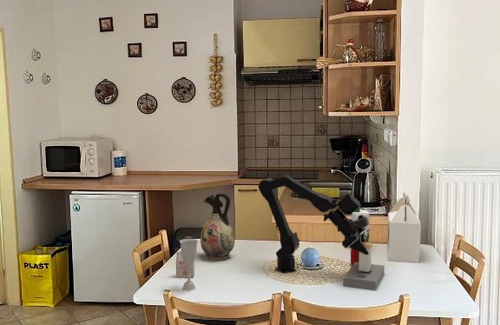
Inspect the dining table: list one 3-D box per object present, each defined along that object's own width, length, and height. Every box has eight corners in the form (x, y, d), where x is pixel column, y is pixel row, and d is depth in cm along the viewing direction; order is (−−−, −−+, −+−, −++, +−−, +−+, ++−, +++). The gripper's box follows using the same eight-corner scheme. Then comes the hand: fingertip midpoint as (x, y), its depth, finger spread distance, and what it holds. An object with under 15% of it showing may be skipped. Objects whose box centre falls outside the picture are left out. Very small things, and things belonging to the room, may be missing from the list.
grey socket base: (343, 286, 206) (343, 277, 205) (354, 270, 226) (355, 261, 226) (375, 290, 201) (375, 281, 201) (384, 273, 222) (384, 265, 221)
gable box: (419, 263, 237) (422, 199, 234) (388, 261, 240) (390, 198, 237) (415, 250, 259) (417, 191, 256) (387, 248, 262) (389, 190, 259)
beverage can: (366, 268, 228) (367, 240, 227) (350, 267, 230) (351, 239, 228) (366, 264, 235) (367, 237, 234) (350, 263, 236) (351, 236, 235)
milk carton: (348, 245, 266) (349, 205, 264) (366, 245, 266) (367, 205, 264) (351, 250, 257) (352, 208, 255) (370, 250, 257) (371, 208, 255)
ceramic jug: (194, 260, 239) (193, 192, 236) (209, 251, 254) (209, 187, 250) (229, 264, 233) (229, 195, 230) (243, 255, 247) (243, 190, 244)
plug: (358, 270, 212) (359, 244, 211) (360, 267, 216) (361, 241, 215) (369, 271, 211) (369, 245, 209) (370, 269, 214) (371, 242, 213)
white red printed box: (177, 274, 219) (177, 250, 218) (194, 275, 219) (194, 250, 218) (176, 277, 215) (176, 253, 214) (193, 278, 215) (193, 253, 214)
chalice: (180, 285, 206) (179, 238, 204) (198, 284, 207) (198, 238, 205) (179, 292, 199) (179, 243, 197) (198, 291, 199) (197, 243, 197)
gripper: (351, 213, 204) (380, 245, 201) (361, 205, 221) (387, 234, 218) (330, 232, 207) (358, 264, 204) (341, 222, 225) (367, 251, 222)
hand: (368, 252), depth 212 cm, fingers closed on plug, 4 cm apart
